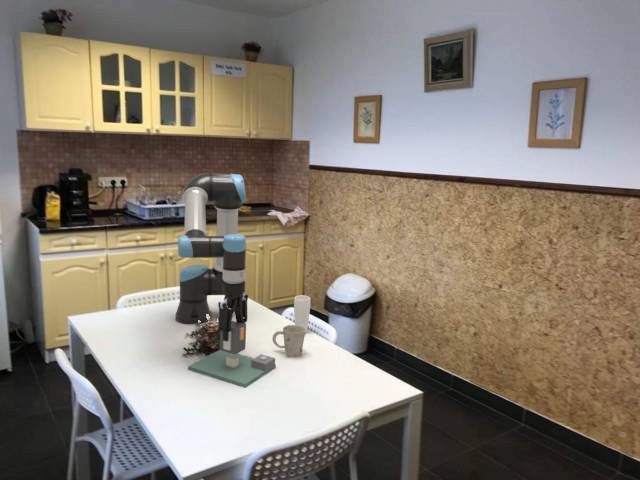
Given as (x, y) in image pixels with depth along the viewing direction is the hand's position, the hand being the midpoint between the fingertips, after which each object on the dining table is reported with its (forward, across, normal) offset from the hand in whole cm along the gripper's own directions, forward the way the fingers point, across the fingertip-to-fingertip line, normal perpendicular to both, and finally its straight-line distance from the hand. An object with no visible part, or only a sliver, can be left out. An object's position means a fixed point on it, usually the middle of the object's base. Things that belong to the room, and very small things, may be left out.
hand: (232, 346), depth 177 cm
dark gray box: (+1, 0, 0) cm, 1 cm away
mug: (+8, +22, -9) cm, 25 cm away
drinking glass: (+8, +44, -2) cm, 45 cm away
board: (+8, 0, 0) cm, 8 cm away
